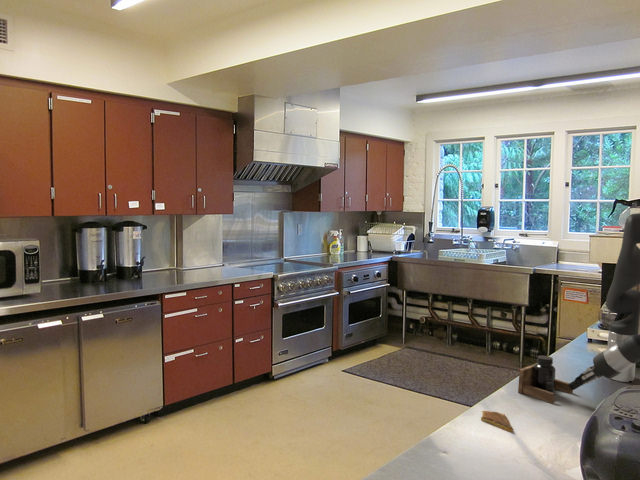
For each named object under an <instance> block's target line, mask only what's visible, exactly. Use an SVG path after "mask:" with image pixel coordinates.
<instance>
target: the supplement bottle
mask: <svg viewBox="0 0 640 480" xmlns="http://www.w3.org/2000/svg"><path fill="white" fill-rule="evenodd" d="M553 362H554V360H553V357H551V356H549V355H537V357H536V363H537V364H536V363H534V364H535V365H534V369H533V387H536V388H539V389H542V390H546V391H549V392H552V393H554V394H555V390H556V389H555V379H556V367H555V366H554V365H553V364H554V363H553Z"/></svg>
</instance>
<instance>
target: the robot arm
mask: <svg viewBox="0 0 640 480" xmlns="http://www.w3.org/2000/svg"><path fill="white" fill-rule="evenodd" d="M638 244H640V212H638V213H632V214H629V215H628V216H627V217H626V219H625V223H624V227H623V235H622V242H621V248H620V252H619V255H618V258H617V261H616V265H615V268H614V275H613V279H612V281H611V282H612V283H611V284H610V287H609V289H608V292H607V295H606V300H605V301H606V302H605V303H606V308H607V310H608V311H609V312H610V313H612V314H620V315H628V316H627V317H626V318H623V319H619V320H614V321H612V322H610V323H609V326H608V336H607V348H606V349H605V350H603V351H602V352H600V353H598V354H597V355H595V356H594V357H593V358H592V363H593V365H591V366H589V367H588V368H586V369H585V370H584V371H582V373H580V374H579V375H578V376H577V377H575V379H574V380H573V381H571V382H568V383H569V384H568V386H569V387H570V389H571V390H573V391H574V390H577V389H578V388H580V387H581V386H584V385H586V384H590V383H593V382H594V381H596V380H599V379H601V378H602V377H604V378H606V379H611V380H614V381H616V382H621V383H622V382H623V383H630V382H629V381H632V382H634V381H635V373H636V364H637V363H639V362H640V334H639V326H640V291H639V290H638V289H633V288H635V287H637V286H639V285H640V247H638ZM633 380H634V381H633Z"/></svg>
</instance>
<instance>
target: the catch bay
mask: <svg viewBox="0 0 640 480" xmlns="http://www.w3.org/2000/svg"><path fill="white" fill-rule="evenodd" d="M535 364H537V362H536V363H533V364H530V365H528V366H526V367H522V368H520V369H519V372H518V373H519V374H518V388H517V389H518V390H517V393H518V394H523V395H526V396H529V397H532V398H535V399H538V400H542V401H543V402H547V403H549V404H550V403H551V404H553V403H555V392H554V393H552V392H549V391H546V390H542V389H539V388H536V387H533V369H534V365H535ZM569 383H570V382H567V381H563V380H560V379H556V378H555V390H556V391H560V392H563V393H567V394H570V395H571V394H573V392H574V390H571V389H570V387H569V386H568V384H569Z"/></svg>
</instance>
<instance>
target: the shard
mask: <svg viewBox="0 0 640 480" xmlns="http://www.w3.org/2000/svg"><path fill="white" fill-rule="evenodd" d="M481 413H482V417H480V420H481V421H482V422H486V423H488V422H489V424H491V425H493V426H494V427H497V426H498V428H499V427H500V429H502V430H505V431H507V432H511V433H513V432H514V431H515V430H514V428H513V426H512V425H511V423H510V420H509V419H508V417H507V416H506V414H505V413H501V412H498V411H491V410H489V411H488V410H487V411H486V410H483V411H481Z"/></svg>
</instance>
